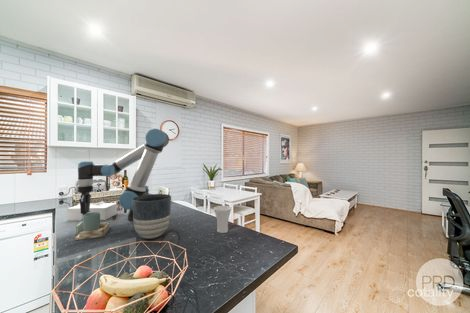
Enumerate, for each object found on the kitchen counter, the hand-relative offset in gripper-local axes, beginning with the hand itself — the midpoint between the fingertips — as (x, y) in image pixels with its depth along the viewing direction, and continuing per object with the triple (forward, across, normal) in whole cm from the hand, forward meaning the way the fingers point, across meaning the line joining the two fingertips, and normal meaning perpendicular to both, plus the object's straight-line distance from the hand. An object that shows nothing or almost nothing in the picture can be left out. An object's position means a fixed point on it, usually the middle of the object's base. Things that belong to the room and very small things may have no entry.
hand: (85, 223), depth 121 cm
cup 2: (+2, +40, +78) cm, 88 cm away
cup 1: (+1, +16, +8) cm, 17 cm away
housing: (+2, +16, +8) cm, 18 cm away
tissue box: (+3, -21, -1) cm, 21 cm away
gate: (+2, +8, 0) cm, 8 cm away
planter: (+2, +34, +40) cm, 52 cm away
